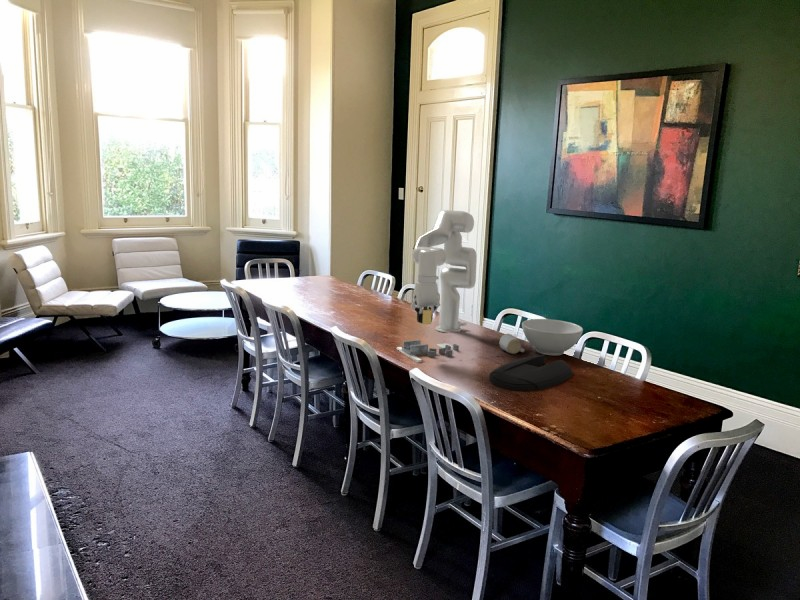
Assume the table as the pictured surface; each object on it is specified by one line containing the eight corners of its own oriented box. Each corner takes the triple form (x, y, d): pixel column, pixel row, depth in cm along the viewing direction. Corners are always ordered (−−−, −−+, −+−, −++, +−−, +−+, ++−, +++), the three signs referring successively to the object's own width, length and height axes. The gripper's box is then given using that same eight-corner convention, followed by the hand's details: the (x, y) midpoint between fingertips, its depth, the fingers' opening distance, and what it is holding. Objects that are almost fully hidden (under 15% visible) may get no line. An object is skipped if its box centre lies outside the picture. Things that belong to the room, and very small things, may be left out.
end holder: (419, 348, 269) (419, 339, 269) (427, 353, 262) (428, 344, 262) (401, 350, 266) (402, 341, 265) (409, 355, 259) (410, 346, 258)
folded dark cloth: (473, 380, 235) (474, 368, 234) (526, 360, 265) (527, 349, 264) (531, 398, 219) (532, 384, 218) (580, 374, 249) (582, 362, 248)
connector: (426, 321, 262) (427, 303, 261) (431, 324, 259) (432, 305, 257) (418, 322, 260) (419, 304, 259) (422, 324, 257) (423, 306, 255)
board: (445, 345, 281) (446, 337, 280) (469, 357, 264) (469, 349, 263) (396, 349, 270) (397, 341, 270) (417, 362, 253) (417, 354, 252)
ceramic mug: (507, 355, 270) (508, 338, 268) (498, 350, 277) (499, 333, 276) (528, 354, 273) (529, 337, 272) (518, 349, 281) (520, 333, 279)
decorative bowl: (521, 341, 295) (523, 316, 292) (579, 347, 288) (582, 322, 286) (517, 356, 269) (519, 329, 267) (580, 363, 263) (583, 336, 260)
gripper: (439, 277, 263) (437, 318, 267) (405, 278, 255) (402, 321, 259) (448, 280, 256) (446, 322, 260) (413, 281, 249) (411, 325, 253)
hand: (424, 321), depth 260 cm, fingers closed on connector, 4 cm apart
